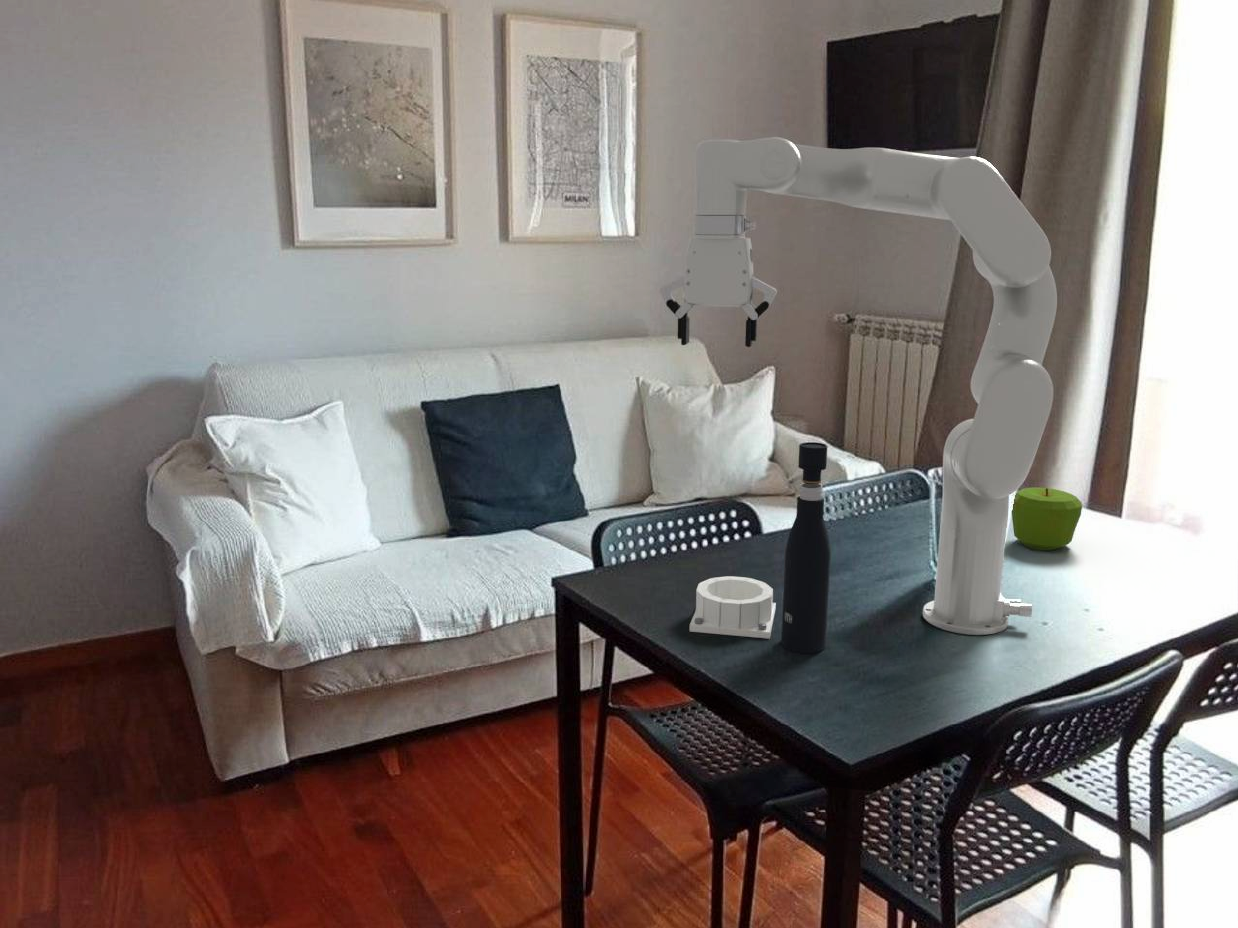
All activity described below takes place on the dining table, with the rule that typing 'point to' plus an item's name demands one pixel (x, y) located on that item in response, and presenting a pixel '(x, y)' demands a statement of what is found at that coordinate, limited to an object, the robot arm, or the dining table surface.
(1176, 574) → the dining table surface
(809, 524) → the dark blue bottle
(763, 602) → the flange socket
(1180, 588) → the dining table surface
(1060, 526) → the apple
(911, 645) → the dining table surface
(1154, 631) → the dining table surface
